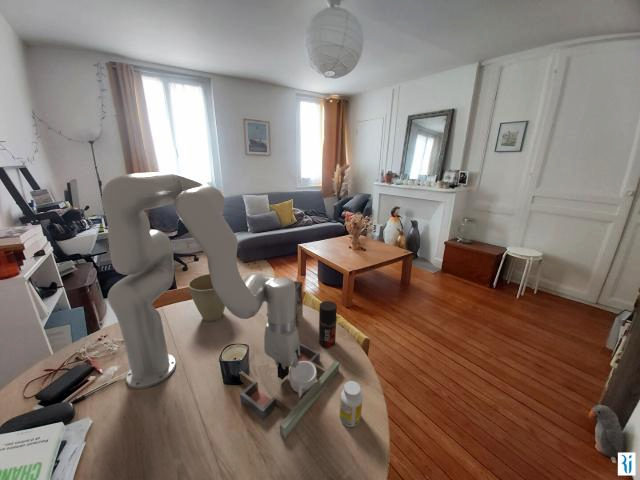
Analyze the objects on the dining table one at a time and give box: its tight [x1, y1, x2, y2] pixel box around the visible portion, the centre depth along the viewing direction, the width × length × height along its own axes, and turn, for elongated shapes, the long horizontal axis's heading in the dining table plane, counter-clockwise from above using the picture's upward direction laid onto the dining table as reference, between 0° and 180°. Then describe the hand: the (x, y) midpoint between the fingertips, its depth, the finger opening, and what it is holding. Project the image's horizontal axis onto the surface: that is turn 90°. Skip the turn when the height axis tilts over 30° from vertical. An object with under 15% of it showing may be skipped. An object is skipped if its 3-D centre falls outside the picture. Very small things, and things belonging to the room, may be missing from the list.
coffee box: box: [293, 280, 304, 328], centre depth 100 cm, size 9×6×16 cm
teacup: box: [288, 361, 317, 399], centre depth 71 cm, size 10×8×5 cm
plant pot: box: [187, 273, 226, 322], centre depth 103 cm, size 15×15×16 cm
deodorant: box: [318, 300, 338, 349], centre depth 89 cm, size 6×6×15 cm
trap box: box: [239, 342, 340, 439], centre depth 76 cm, size 26×25×3 cm
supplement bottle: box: [339, 380, 363, 428], centre depth 63 cm, size 5×5×10 cm
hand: (283, 375), depth 75 cm, fingers closed
